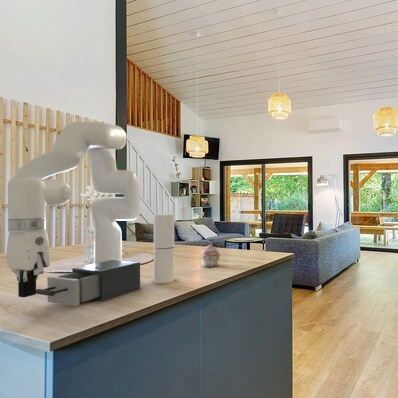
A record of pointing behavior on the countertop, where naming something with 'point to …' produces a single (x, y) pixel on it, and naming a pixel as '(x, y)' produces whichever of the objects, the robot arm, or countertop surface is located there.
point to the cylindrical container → (163, 248)
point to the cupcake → (210, 256)
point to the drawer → (72, 288)
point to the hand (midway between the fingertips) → (27, 295)
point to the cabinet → (114, 277)
